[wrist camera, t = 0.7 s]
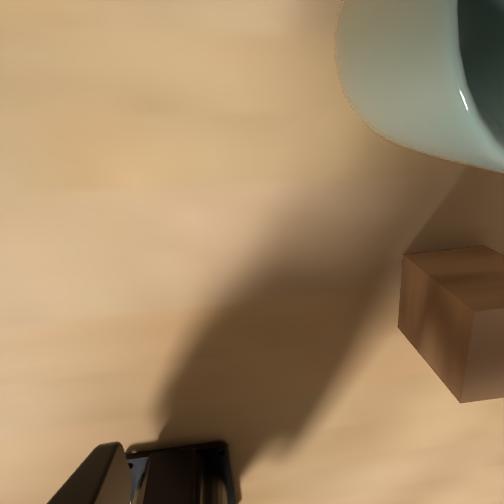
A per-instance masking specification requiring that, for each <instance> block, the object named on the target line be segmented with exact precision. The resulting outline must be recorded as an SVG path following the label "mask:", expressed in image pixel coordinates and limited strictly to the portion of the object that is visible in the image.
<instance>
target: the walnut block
mask: <svg viewBox="0 0 504 504" xmlns="http://www.w3.org/2000/svg"><path fill="white" fill-rule="evenodd" d="M398 328H399V329H400V331H401V332H402V333H403V334H404V335H405V337H406V338H407V339H408V340H409V341H410V343H411V344H412V345H413V346H414V348H415V349H416V350H417V351H418V352H419V354H420V355H421V356H422V357H423V358H424V360H425V361H426V362H427V363H428V365H429V366H430V367H431V368H432V369H433V371H434V372H435V373H436V374H437V376H438V377H439V378H440V379H441V380H442V382H443V383H444V384H445V385H446V386H447V388H448V389H449V390H450V391H451V393H452V394H453V395H454V396H455V397H456V399H457V400H458V401H459V402H460V403H466V402H473V401H481V400H488V399H495V398H503V397H504V256H503V255H502V254H500V253H498V252H496V251H494V250H492V249H490V248H488V247H486V246H475V247H467V248H458V249H449V250H440V251H431V252H423V253H414V254H405V255H403V260H402V274H401V289H400V303H399V318H398Z"/></svg>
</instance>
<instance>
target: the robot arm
mask: <svg viewBox="0 0 504 504" xmlns="http://www.w3.org/2000/svg"><path fill="white" fill-rule="evenodd" d="M219 450H221V451H219ZM130 501H131V504H236V497H235V490H234V483H233V476H232V469H231V462H230V455H229V447H228V444H227V443H225V442H212V443H205V444H198V445H190V446H183V447H176V448H169V449H161V450H154V451H147V452H140V453H132V454H127V455H125V452H124V449H123V446H122V444H121V443H120V442H111V443H105V444H100V445H98V446H97V447H96V448H95V449H94V450H93V451H92V452H91V453H90V454H89V455H88V457H87V458H86V459H85V460H84V461H83V462H82V464H81V465H80V466H79V467H78V468H77V469H76V470H75V472H74V473H73V474H72V475H71V476H70V477H69V479H68V480H67V481H66V482H65V483H64V484H63V485H62V487H61V488H60V489H59V490H58V491H57V492H56V494H55V495H54V496H53V497H52V498H51V499H50V500H49V502H48V503H47V504H130Z"/></svg>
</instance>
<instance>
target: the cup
mask: <svg viewBox="0 0 504 504" xmlns="http://www.w3.org/2000/svg"><path fill="white" fill-rule="evenodd" d="M334 50H335V62H336V68H337V74H338V78H339V81H340V84H341V87H342V90H343V93H344V95H345V97H346V99H347V100H348V102H349V104H350V106H351V108H352V110H353V111H354V112H355V113H356V114H357V116H358V117H359V118H360V119H361V120H362V121H363V123H364V124H365V125H366V126H368V127H369V128H370V129H372V130H373V131H375V132H376V133H377V134H379V135H380V136H382V137H383V138H385V139H387V140H388V141H391V142H393V143H395V144H398V145H400V146H403V147H406V148H409V149H412V150H415V151H418V152H420V153H423V154H426V155H430V156H433V157H437V158H440V159H444V160H448V161H452V162H456V163H460V164H464V165H468V166H472V167H477V168H481V169H485V170H490V171H494V172H499V173H504V0H342V3H341V6H340V9H339V12H338V14H337V21H336V28H335V34H334Z"/></svg>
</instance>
